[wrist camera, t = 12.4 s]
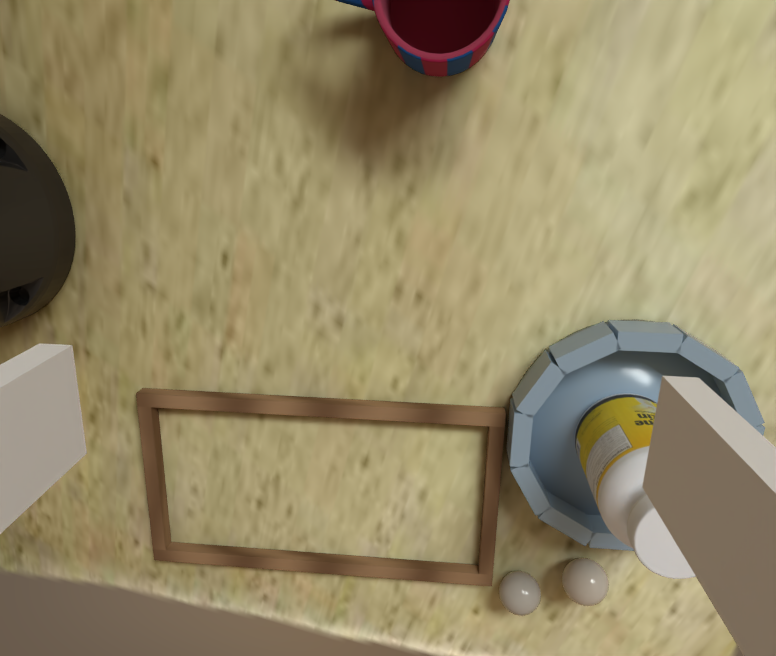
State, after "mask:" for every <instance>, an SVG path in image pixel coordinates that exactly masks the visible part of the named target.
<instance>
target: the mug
mask: <svg viewBox="0 0 776 656" xmlns="http://www.w3.org/2000/svg"><path fill="white" fill-rule="evenodd" d="M336 1H339V2H342V3H346V4H350V5H353V6H357V7H361V8H365V9H368V10H372V11H375V14H376V17H377V19H378V22H379V24H380V26H381V28H382V30H383V32H384V33H385V35H386V37H387V39H388V41H389V42H390V44H391V46H392V48H393V49H394V51H395V52H396V54H397V55H398V57H399V58H400V59H401V60H402V61H403V62H404V63H405V64H406V65H408V66H409V67H411V68H412V69H413V70H415V71H418V72H420V73H422V74H425V75H429V76H438V77H443V76H451V75H454V74H458V73H461V72H463V71H464V70H466V69H468V68H470V67H471V66H473V65H474V64H475V63H477V62H478V61H479V60H480V59H481V58H482V57H483V56H484V54H485V53H486V52H487V50H488V49H489V47H490V46H491V44H492V42H493V40H494V38H495V35H496V33H497V31H498V29H499V27H500V25H501V22H502V20H503V18H504V16H505V14H506V11H507V8H508V4H509V1H510V0H336Z"/></svg>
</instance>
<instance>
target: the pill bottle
mask: <svg viewBox="0 0 776 656" xmlns="http://www.w3.org/2000/svg"><path fill="white" fill-rule="evenodd" d="M656 408H657V403H656V402H655V401H653V400H652V399H650V398H647V397H645V396H642V395H638V394H631V393H621V394H615V395H611V396H607V397H605V398H602V399H601V400H599V401H597V402H595V403H594V404H593V405H591V406H590V407H589V408H588V409H587V410H586V411H585V412H584V414H583V415H582V417H581V418H580V420H579V422H578V424H577V427H576V431H575V448H576V452H577V455H578V458H579V460H580V463H581V465H582V468H583V470H584V473H585V475H586V478H587V480H588V483H589V486H590V489H591V491H592V494H593V496H594V499H595V501H596V504H597V506H598V509H599V512H600V514H601V517H602V519H603V521H604V522H605V524H606V526H607V527H608V529H609V530H610V531H611V533H612V534H613V535H614V536H615V537H616V538H617V539H619V540H620V541H621V542H622V543H624V544H625V545H627V546H629V547H631V548H633V549H634V551H635V553H636V555H637V557H638V558H639V560H640V561H641V563H642V564H643V565H644V566H646V567H647V568H648V569H649V570H650V571H652V572H654V573H656V574H658V575H660V576H664V577H668V578H673V579H685V578H691V577H696V576H695V574H694V572H693V571H692V569H691V567H690V566H689V564H688V562H687V561H686V559H685V557H684V556H683V554H682V552H681V551H680V549H679V547H678V546H677V544H676V542H675V541H674V539H673V537H672V536H671V534H670V532H669V531H668V529H667V527H666V526H665V524H664V522H663V521H662V519H661V518H660V516H659V514H658V513H657V511H656V509H655V508H654V506H653V504H652V503H651V501H650V499H649V498H648V496H647V494H646V493H645V491H644V489H643V488H642V485H643V480H644V474H645V469H646V463H647V458H648V452H649V447H650V441H651V436H652V430H653V424H654V419H655V413H656Z"/></svg>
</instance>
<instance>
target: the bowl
mask: <svg viewBox="0 0 776 656" xmlns="http://www.w3.org/2000/svg"><path fill="white" fill-rule="evenodd" d="M662 376H677V377H697V378H700V379H701V380H702V381H703V382H704V383H705V384H706V385H707V386H708V387H710V388H711V389H712V390H713V391H714V392H715V393H716V394H717V395H718V396H719V397H721V398H722V399H723V400H724V401H725V402H726V403H727V404H728V405H729V406H731V407H732V408H733V409H734V410H735V411H736V412H737V413H738V414H739V415H740V416H742V417H743V418H744V419H745V420H746V421H747V422H748V423H749V424H750V425H752V426H753V427H754V428H755V429H756V430H757V431H758V432H759V433H760V434H761V435H763V434H764V430H765V427H764V426H763V425H762V424H763V423H765V422H764V420H763V418H762V415H761V413H760V411H759V408H758V406H757V404H756V402H755V399H754V397H753V395H752V392H751V390H750V388H749V385H748V383H747V381H746V378H745V376H744V374H743V372H742V371H741V370H740V369H739V367H738V366H736V365H735V364H734V363H732V362H731V361H730V360H728V359H727V358H726V357H724V356H723V355H722V354H720V353H719V352H717V351H716V350H714V349H712V348H711V347H709V346H708V345H706V344H704V343H703V342H701V341H700V340H698V339H697V338H695V337H694V336H692V335H690V334H689V333H687V332H685V331H684V330H682V329H681V328H679V327H678V326H676V325H674V324H673V325H671V324H670V323H666V322H653V321H645V320H608V322H604V321H602V322H600V323H598V324H596V325H592V326H589V327H586V328H584V329H581V330H579V331H576V332H574V333H572V334H570V335H568V336H566V337H565V338H563V339H561V340H559V341H558V342H557V343H555V344H553V345H551V346H549V348H548V349H547V350H544V352H543V353H542V354H541V356H539V357H538V358H537V359H536V361H535V362H534V363H533V364H532V365H531V366H530V368H529V369H528V370H527V372H526V373H525V375H524V376H523V378H522V379H521V381H520V383H519V385H518V387H517V388H516V389H515V391H514V392H513V393H512V396H513V398H510V410H509V416H508V434H507V446H506V449H507V454H508V460H509V465H510V469H511V472H512V474H513V476H514V477H515V479H516V481H517V483H518V485H519V486H520V488H521V490H522V492H523V494H524V496H525V497H526V499H527V501H528V503H529V505H530V507H531V508H532V510H533V512H534V514H535V516H536V515H538V519H540V520H542V521H543V522H545V523H547V524H548V525H550V526H552V527H553V528H555V529H557V530H558V531H560V532H562V533H564V534H565V535H567V536H569V537H570V538H572V539H574V540H575V541H577V542H579V543H581V544H582V545H584V546H586V545H587V544H588V545H589V547H590V548H602V549H616V550H630V551H634V549H633V548H631V547H629V546H627V545H625V544H624V543H622V542H621V541H620V540H619V539H617V538H616V537H615V536H614V535H613V534H612V533H611V531H610V530H609V529H608V527H607V526H606V524H605V522H604V521H603V519H602V517H601V514H600V512H599V509H598V506H597V504H596V501H595V499H594V496H593V494H592V491H591V489H590V486H589V483H588V480H587V478H586V475H585V473H584V470H583V468H582V465H581V463H580V460H579V458H578V455H577V452H576V448H575V431H576V427H577V424H578V422H579V420H580V418H581V417H582V415H583V414H584V412H585V411H586V410H587V409H588V408H589V407H590V406H591V405H593V404H594V403H595V402H597V401H599V400H601V399H602V398H605V397H607V396H611V395H615V394H621V393H631V394H638V395H642V396H645V397H647V398H650V399H652V400H653V401H655V402H656V403H657V402H658V397H659V391H660V386H661V380H662Z"/></svg>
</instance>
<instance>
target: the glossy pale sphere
mask: <svg viewBox="0 0 776 656" xmlns="http://www.w3.org/2000/svg"><path fill="white" fill-rule="evenodd" d="M499 596H500V600H501V602H502V604H503V605H504V607H505V608H506V609H507V610H508V611H509V612H511V613H513V614H515V615H521V616H523V615H528V614H530V613H532V612H533V611H534V610H535V609H536V608H537V607H538V605H539V603H540V599H541V591H540V587H539V585H538V583H537V581H536V580H535V579H534V578H533V577H532V576H531V575H530V574H528V573H526V572H523V571H514V572H511V573H509V574H507V575H506V576H505V577H504V578H503V580H502V581H501V583H500V587H499Z"/></svg>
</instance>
